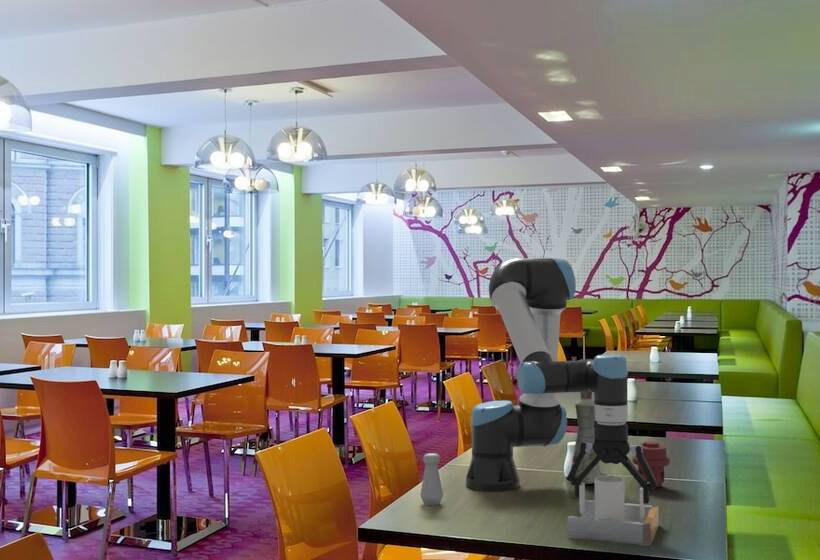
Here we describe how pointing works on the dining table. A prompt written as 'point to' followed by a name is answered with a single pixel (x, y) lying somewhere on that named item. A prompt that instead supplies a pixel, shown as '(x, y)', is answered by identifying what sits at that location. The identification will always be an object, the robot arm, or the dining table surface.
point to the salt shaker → (431, 481)
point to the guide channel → (616, 525)
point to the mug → (609, 497)
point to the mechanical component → (654, 460)
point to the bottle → (585, 436)
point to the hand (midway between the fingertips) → (611, 514)
